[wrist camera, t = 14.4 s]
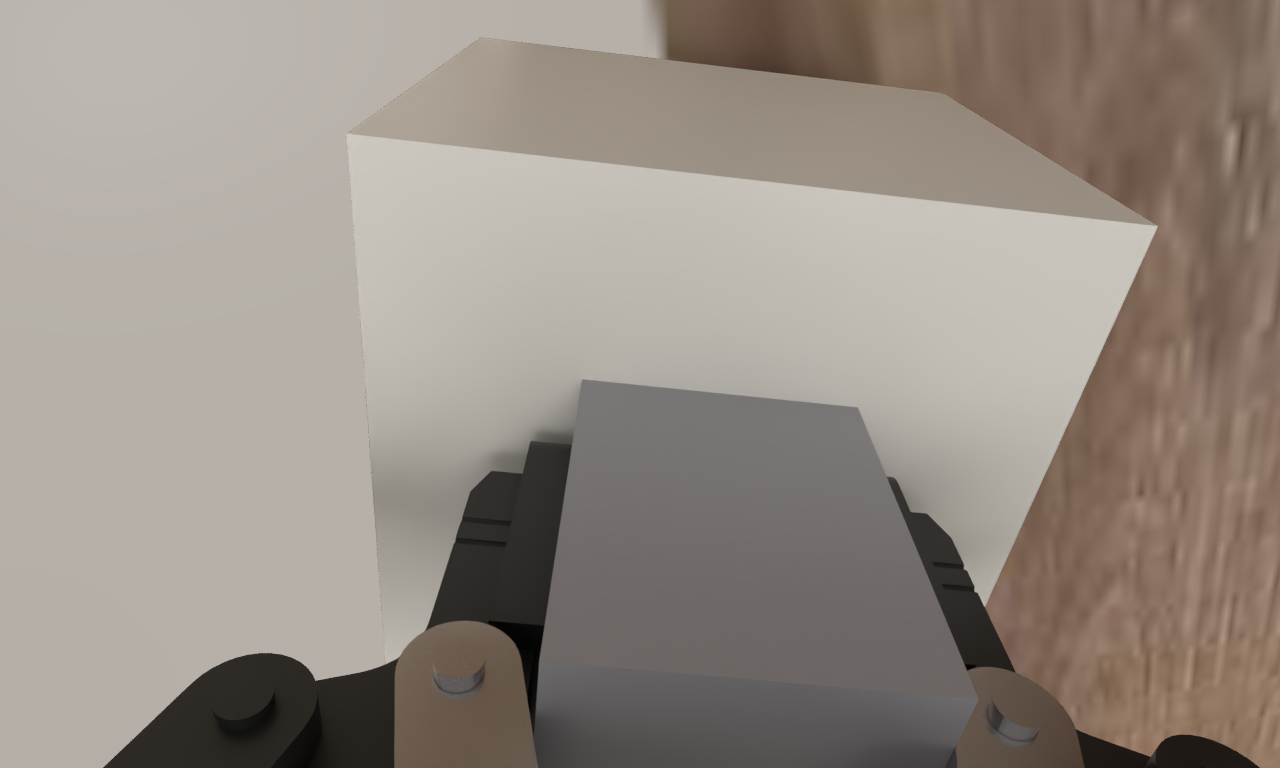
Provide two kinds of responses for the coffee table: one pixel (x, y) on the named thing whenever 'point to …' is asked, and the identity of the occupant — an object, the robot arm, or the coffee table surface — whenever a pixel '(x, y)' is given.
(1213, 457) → the coffee table surface
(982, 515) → the stacked blocks
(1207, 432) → the coffee table surface
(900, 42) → the coffee table surface
